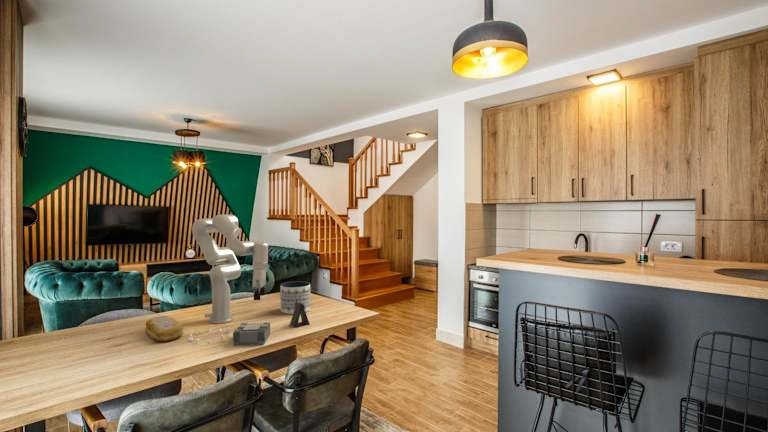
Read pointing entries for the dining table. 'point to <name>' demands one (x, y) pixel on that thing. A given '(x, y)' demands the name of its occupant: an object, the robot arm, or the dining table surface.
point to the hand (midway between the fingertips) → (259, 297)
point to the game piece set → (208, 331)
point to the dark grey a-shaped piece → (297, 312)
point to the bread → (164, 328)
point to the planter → (294, 296)
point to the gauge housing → (251, 336)
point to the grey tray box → (252, 327)
